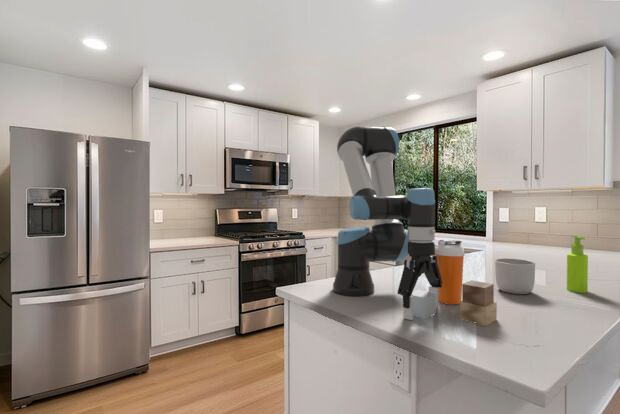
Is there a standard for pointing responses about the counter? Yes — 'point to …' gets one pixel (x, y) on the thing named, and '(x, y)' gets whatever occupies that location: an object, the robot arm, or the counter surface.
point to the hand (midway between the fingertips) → (421, 313)
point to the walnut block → (478, 293)
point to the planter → (515, 275)
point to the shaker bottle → (450, 271)
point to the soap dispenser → (577, 268)
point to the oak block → (478, 312)
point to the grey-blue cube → (423, 304)
